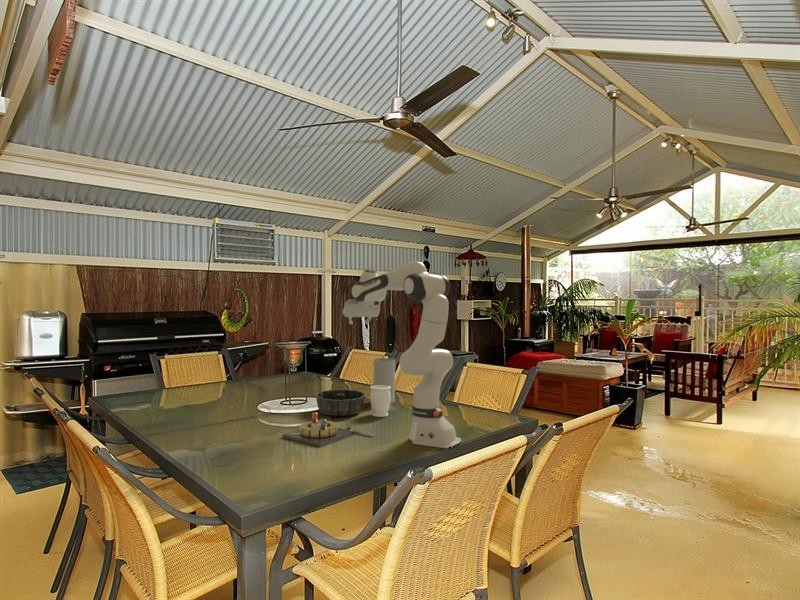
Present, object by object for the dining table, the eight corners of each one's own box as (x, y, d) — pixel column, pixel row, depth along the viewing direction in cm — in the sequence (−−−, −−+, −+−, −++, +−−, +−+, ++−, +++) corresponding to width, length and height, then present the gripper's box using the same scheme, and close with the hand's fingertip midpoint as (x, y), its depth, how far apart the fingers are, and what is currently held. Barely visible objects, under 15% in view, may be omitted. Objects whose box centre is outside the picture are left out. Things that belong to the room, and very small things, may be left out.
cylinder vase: (375, 405, 270) (376, 361, 270) (371, 400, 282) (371, 358, 282) (396, 404, 273) (397, 360, 273) (391, 399, 285) (392, 358, 285)
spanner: (376, 436, 210) (376, 430, 210) (371, 438, 207) (371, 431, 207) (348, 430, 218) (348, 424, 218) (344, 432, 216) (344, 426, 216)
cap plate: (354, 434, 211) (354, 422, 211) (320, 447, 193) (320, 433, 193) (317, 426, 224) (317, 414, 223) (282, 437, 205) (282, 425, 205)
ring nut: (344, 431, 211) (345, 415, 211) (319, 439, 197) (320, 422, 197) (318, 425, 219) (318, 410, 219) (292, 433, 206) (292, 417, 206)
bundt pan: (369, 418, 241) (369, 398, 241) (316, 420, 235) (316, 400, 235) (361, 406, 267) (362, 388, 267) (314, 408, 261) (314, 389, 261)
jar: (391, 413, 251) (391, 385, 251) (389, 418, 241) (389, 388, 241) (371, 412, 252) (372, 384, 252) (368, 417, 242) (368, 388, 242)
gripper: (348, 301, 238) (343, 326, 242) (383, 302, 249) (377, 326, 254) (343, 296, 243) (338, 321, 247) (377, 297, 254) (372, 321, 258)
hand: (358, 323), depth 250 cm, fingers open, 8 cm apart
